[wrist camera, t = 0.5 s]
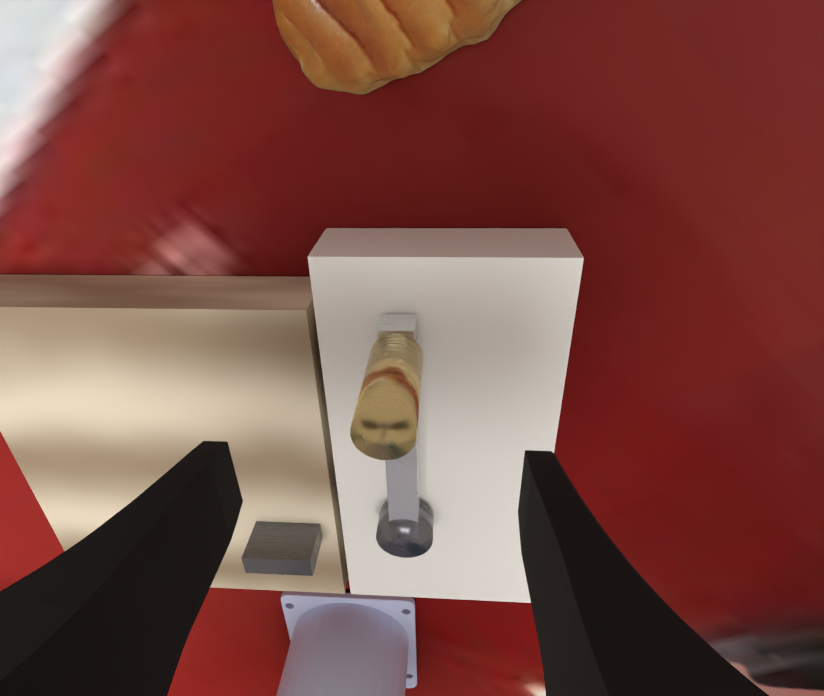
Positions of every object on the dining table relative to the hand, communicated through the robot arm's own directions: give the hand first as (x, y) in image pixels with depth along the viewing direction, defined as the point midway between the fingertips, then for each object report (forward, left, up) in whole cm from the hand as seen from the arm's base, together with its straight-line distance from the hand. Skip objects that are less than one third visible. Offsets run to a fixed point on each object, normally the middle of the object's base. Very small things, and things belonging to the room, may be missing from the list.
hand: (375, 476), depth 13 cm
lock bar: (-5, 0, -7) cm, 8 cm away
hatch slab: (-7, +10, -10) cm, 16 cm away
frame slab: (-6, -1, -10) cm, 12 cm away
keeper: (-10, +5, -7) cm, 14 cm away
